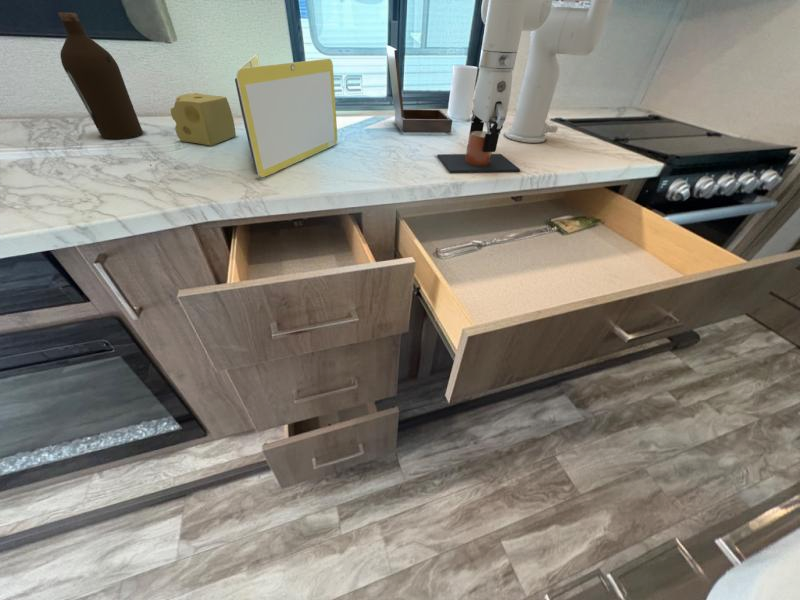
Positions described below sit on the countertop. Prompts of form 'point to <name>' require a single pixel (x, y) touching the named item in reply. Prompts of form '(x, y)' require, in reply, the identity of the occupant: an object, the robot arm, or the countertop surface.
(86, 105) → the olive oil
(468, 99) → the white cylinder
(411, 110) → the brown wooden box
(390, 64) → the lid
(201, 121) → the cheese
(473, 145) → the orange cup
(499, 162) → the mat
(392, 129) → the countertop surface
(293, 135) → the tablet
